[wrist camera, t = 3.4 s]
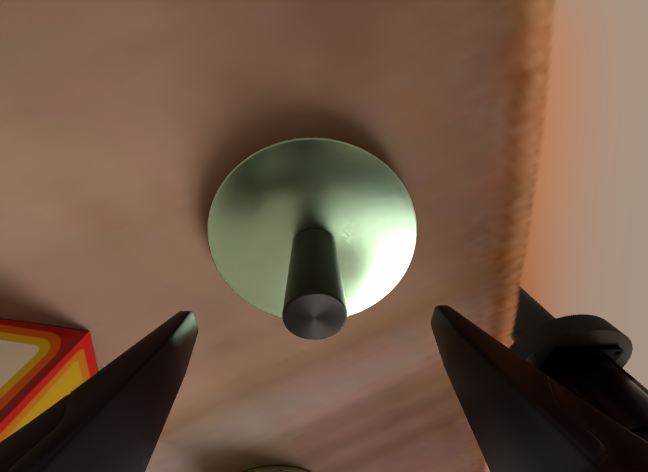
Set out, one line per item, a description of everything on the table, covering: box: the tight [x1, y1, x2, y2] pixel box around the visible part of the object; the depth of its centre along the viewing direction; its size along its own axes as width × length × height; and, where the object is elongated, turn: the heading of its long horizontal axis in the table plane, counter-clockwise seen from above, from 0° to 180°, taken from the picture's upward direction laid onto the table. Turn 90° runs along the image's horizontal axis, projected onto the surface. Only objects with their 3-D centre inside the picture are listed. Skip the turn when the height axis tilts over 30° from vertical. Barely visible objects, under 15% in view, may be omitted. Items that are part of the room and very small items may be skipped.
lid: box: [207, 137, 417, 339], centre depth 12 cm, size 11×11×6 cm
